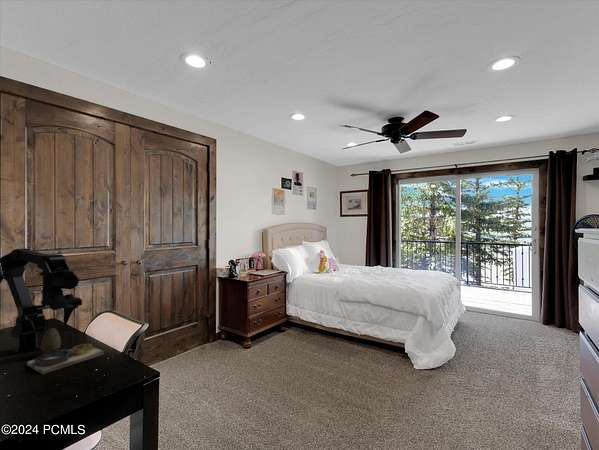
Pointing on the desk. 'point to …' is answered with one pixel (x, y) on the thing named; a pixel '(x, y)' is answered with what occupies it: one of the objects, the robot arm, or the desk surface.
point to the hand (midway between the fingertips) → (51, 327)
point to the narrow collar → (82, 349)
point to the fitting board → (71, 361)
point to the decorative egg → (50, 341)
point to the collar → (64, 355)
